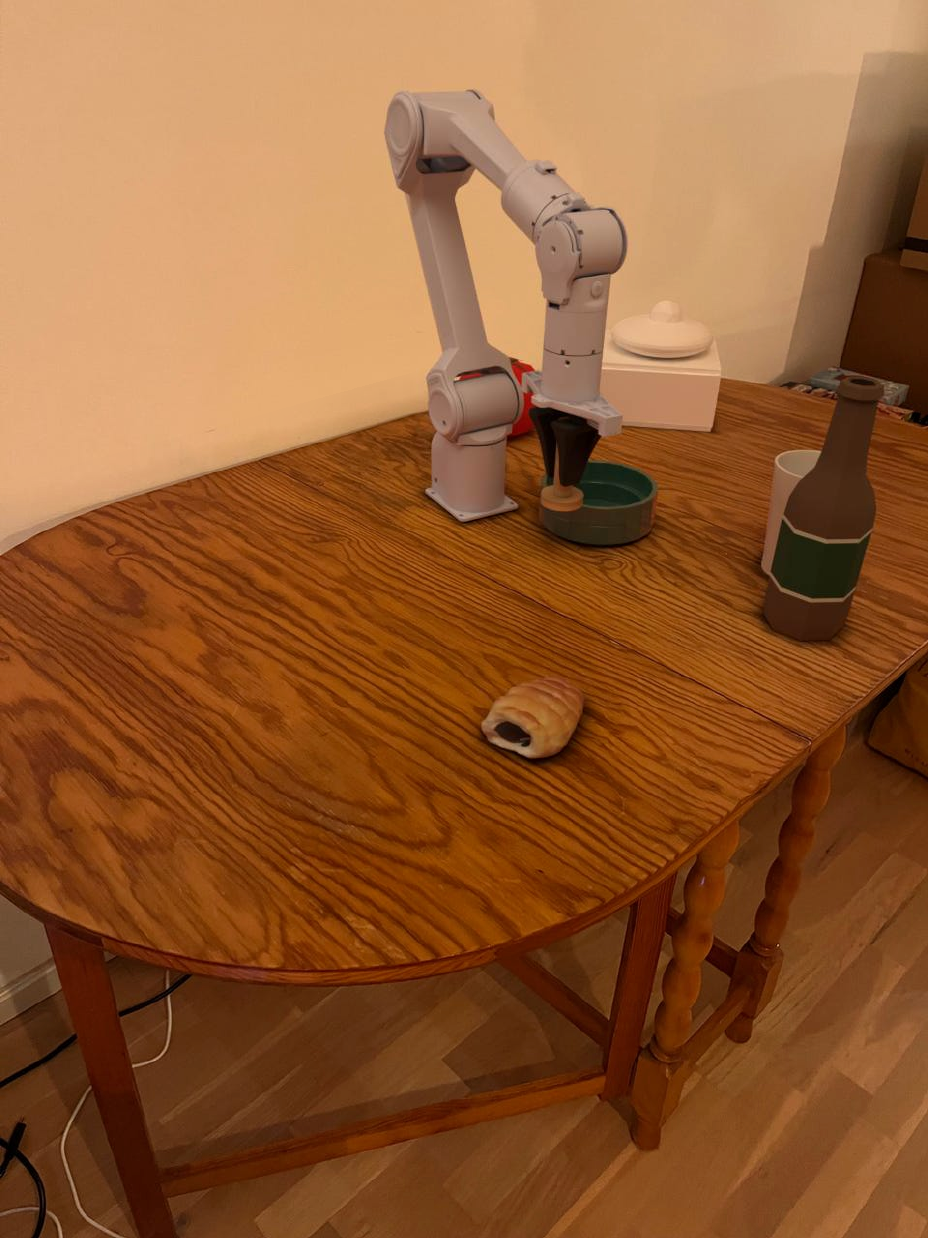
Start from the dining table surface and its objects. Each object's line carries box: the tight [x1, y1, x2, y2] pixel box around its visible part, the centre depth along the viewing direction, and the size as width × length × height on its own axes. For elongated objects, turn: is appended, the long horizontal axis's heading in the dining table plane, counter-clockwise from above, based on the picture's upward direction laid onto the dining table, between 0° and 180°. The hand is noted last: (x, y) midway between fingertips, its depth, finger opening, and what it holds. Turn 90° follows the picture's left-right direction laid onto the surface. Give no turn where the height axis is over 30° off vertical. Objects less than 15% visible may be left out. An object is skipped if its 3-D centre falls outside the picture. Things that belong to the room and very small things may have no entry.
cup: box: [760, 449, 822, 577], centre depth 95 cm, size 8×8×12 cm
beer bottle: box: [762, 375, 885, 642], centre depth 83 cm, size 8×8×24 cm
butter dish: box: [600, 300, 723, 433], centre depth 136 cm, size 18×18×16 cm
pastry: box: [480, 675, 585, 759], centre depth 74 cm, size 9×7×4 cm
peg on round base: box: [541, 417, 583, 511], centre depth 93 cm, size 4×4×9 cm
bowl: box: [538, 459, 659, 546], centre depth 105 cm, size 13×13×5 cm
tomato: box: [458, 356, 537, 438], centre depth 128 cm, size 13×12×11 cm
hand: (563, 479), depth 94 cm, fingers closed on peg on round base, 2 cm apart
